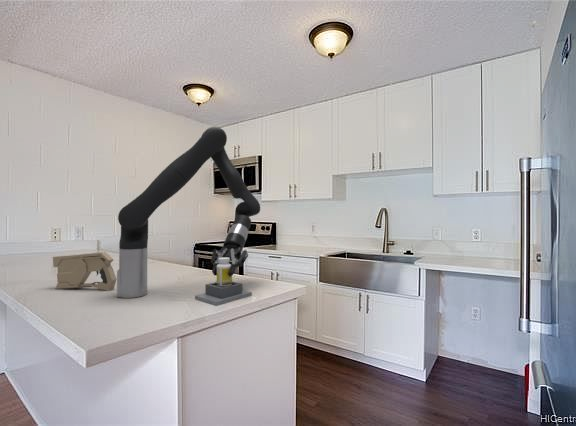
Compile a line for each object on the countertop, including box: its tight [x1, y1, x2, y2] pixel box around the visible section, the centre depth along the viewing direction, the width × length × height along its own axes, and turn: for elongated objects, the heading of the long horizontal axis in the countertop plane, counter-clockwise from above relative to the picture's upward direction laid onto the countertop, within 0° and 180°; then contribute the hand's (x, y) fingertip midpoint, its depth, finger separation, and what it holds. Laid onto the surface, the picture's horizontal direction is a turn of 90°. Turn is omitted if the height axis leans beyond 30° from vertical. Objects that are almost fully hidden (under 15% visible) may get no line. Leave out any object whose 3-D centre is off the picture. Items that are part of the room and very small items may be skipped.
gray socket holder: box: [194, 281, 253, 306], centre depth 108 cm, size 16×12×5 cm
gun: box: [52, 251, 117, 292], centre depth 119 cm, size 24×3×15 cm, turn 84°
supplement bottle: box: [216, 257, 233, 287], centre depth 108 cm, size 5×5×10 cm
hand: (222, 274), depth 107 cm, fingers closed on supplement bottle, 5 cm apart
